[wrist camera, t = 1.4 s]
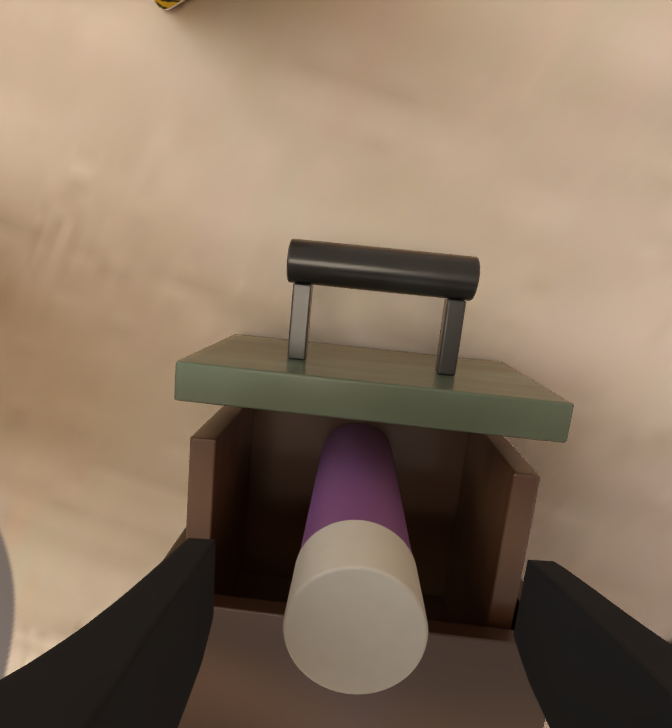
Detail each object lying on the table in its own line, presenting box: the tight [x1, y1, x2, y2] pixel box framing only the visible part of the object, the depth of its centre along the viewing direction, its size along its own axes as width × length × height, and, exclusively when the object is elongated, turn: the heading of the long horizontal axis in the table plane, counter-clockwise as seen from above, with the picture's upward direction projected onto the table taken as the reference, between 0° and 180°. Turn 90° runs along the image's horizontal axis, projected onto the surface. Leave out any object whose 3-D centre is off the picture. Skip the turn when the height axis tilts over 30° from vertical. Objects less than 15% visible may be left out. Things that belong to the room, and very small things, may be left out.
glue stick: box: [283, 423, 428, 694], centre depth 15 cm, size 3×3×10 cm
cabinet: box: [164, 528, 545, 728], centre depth 19 cm, size 12×13×8 cm
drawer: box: [175, 239, 574, 630], centre depth 17 cm, size 15×12×7 cm
